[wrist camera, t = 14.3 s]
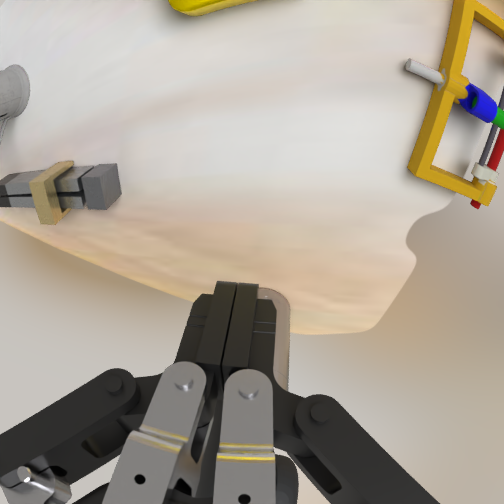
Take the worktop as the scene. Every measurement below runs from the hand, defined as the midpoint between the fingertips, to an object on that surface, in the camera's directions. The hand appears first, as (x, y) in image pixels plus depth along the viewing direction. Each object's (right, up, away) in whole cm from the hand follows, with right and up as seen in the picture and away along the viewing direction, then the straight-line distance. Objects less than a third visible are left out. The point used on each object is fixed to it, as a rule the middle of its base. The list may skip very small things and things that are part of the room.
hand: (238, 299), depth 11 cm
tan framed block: (-27, +12, +27) cm, 40 cm away
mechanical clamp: (+27, +23, +15) cm, 38 cm away
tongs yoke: (-19, +12, +27) cm, 35 cm away
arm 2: (-31, +12, +28) cm, 44 cm away
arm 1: (-31, +14, +27) cm, 44 cm away
